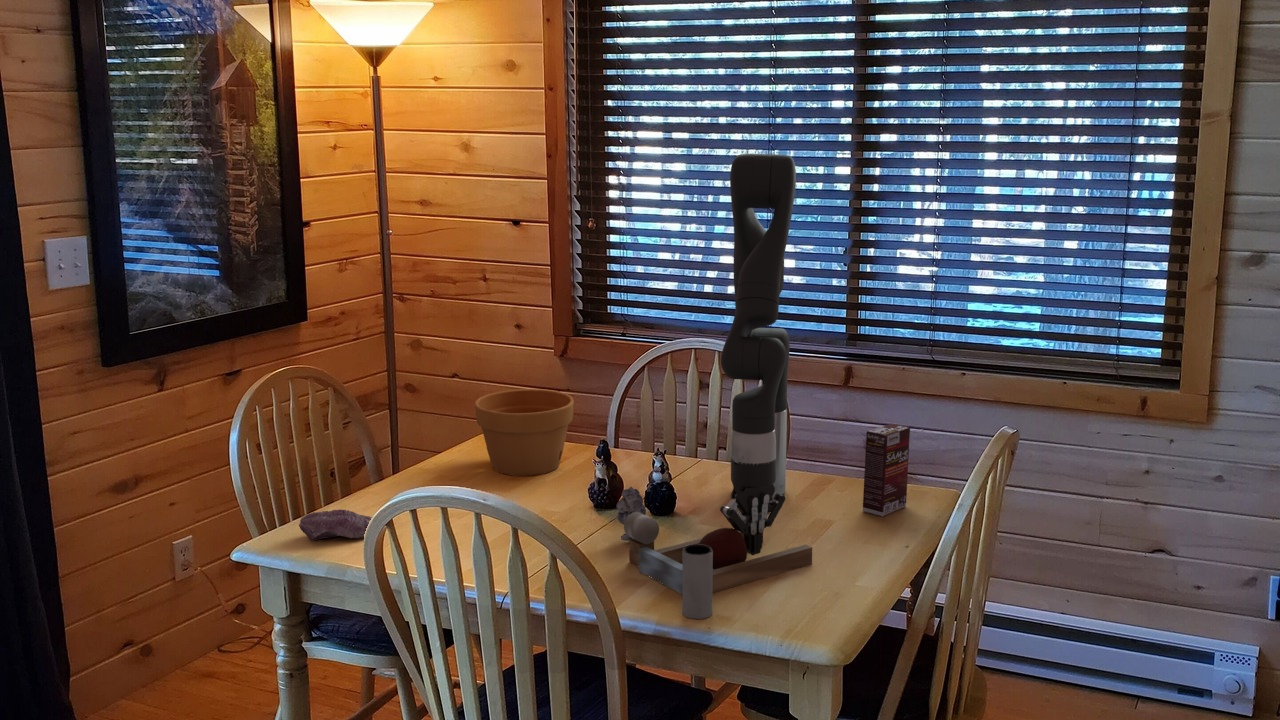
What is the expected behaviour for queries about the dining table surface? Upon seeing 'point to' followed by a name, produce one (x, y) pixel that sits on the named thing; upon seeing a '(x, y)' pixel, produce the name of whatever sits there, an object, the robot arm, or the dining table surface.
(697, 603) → the grey tube
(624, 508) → the grey lumpy rock
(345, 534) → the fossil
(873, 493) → the supplement box
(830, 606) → the dining table surface
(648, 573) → the bay
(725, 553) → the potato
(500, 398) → the flower pot
